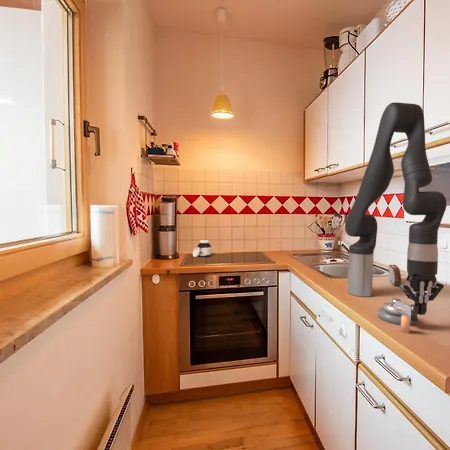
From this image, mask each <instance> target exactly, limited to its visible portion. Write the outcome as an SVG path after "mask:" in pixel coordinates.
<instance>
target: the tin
mask: <svg viewBox="0 0 450 450" xmlns="http://www.w3.org/2000/svg"><path fill="white" fill-rule="evenodd" d="M401 274H402V273H401V270H400V268H399V267H398V266H397V265H396V264H389V265H388V279H389V281H390V283H391V284H392V285H393V286H398V287H399V284H400V283H402V275H401Z"/></svg>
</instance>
